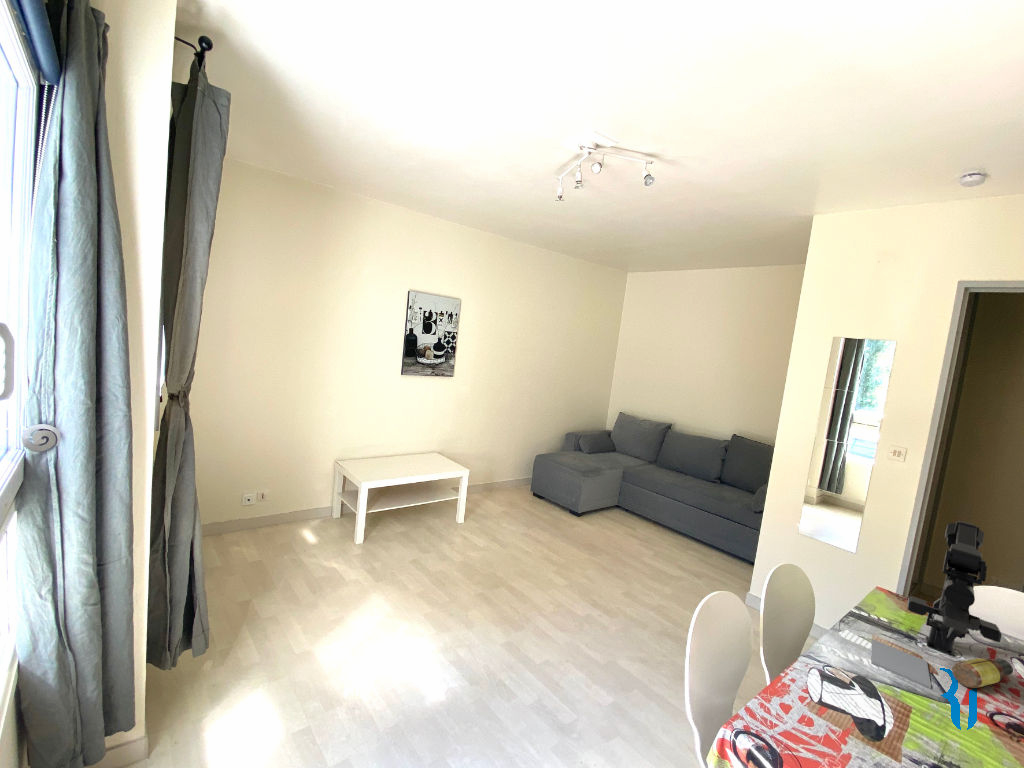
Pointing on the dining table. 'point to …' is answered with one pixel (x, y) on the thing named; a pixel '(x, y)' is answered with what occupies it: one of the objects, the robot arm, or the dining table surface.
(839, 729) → the dining table surface
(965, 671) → the sauce bottle
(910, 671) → the rubber mat
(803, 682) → the dining table surface
